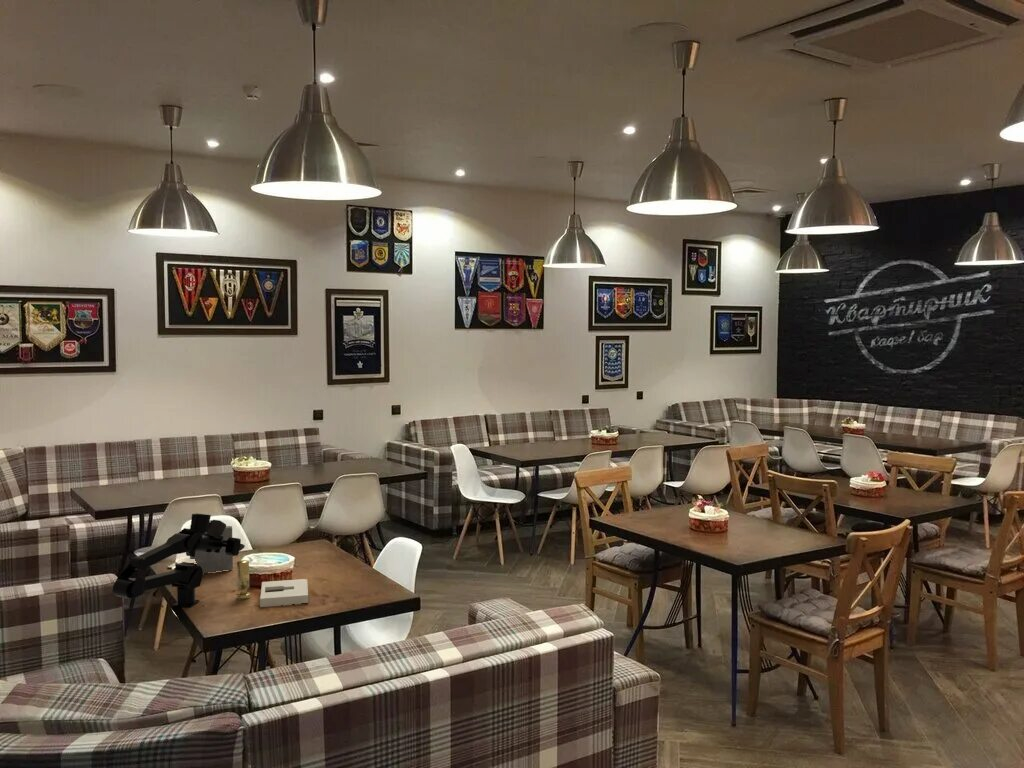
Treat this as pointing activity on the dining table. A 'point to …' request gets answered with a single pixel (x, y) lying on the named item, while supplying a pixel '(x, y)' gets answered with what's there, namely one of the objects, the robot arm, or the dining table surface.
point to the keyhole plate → (284, 593)
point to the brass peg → (243, 579)
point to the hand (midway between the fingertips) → (234, 544)
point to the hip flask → (215, 557)
